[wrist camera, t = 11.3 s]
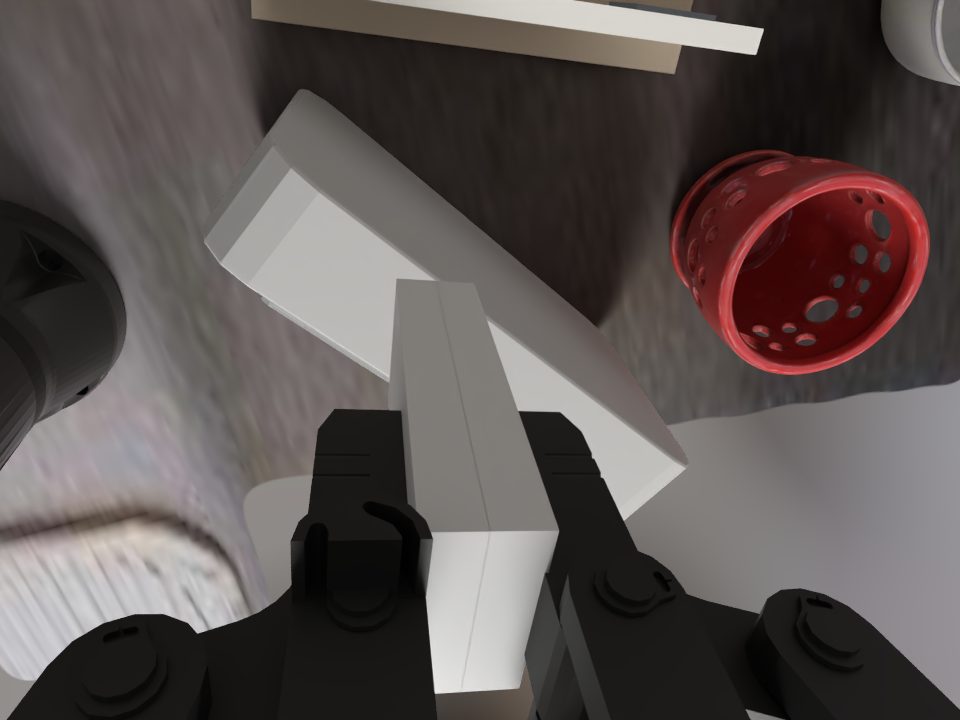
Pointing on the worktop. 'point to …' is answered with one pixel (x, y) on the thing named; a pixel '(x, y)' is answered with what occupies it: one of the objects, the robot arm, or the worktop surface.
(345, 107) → the worktop surface
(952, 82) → the teacup
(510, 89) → the worktop surface
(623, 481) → the rounded white slab
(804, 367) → the plant pot
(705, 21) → the pattern card
